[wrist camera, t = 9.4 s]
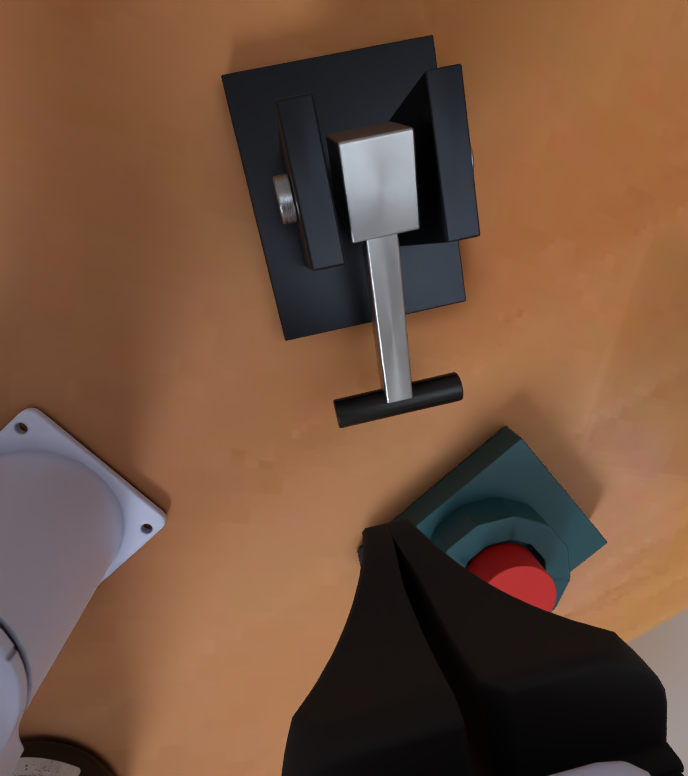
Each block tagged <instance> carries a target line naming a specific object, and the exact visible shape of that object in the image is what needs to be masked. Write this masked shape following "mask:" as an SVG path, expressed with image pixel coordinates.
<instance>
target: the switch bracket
mask: <svg viewBox="0 0 688 776" xmlns="http://www.w3.org/2000/svg"><path fill="white" fill-rule="evenodd" d="M221 78H222V82H223V86H224V90H225V95H226V99H227V103H228V107H229V111H230V115H231V119H232V123H233V128H234V132H235V136H236V140H237V144H238V148H239V152H240V156H241V160H242V165H243V169H244V173H245V177H246V181H247V185H248V189H249V193H250V197H251V202H252V206H253V210H254V214H255V218H256V222H257V226H258V230H259V235H260V239H261V243H262V247H263V251H264V255H265V259H266V263H267V267H268V272H269V276H270V280H271V284H272V288H273V292H274V296H275V300H276V305H277V309H278V313H279V317H280V321H281V325H282V329H283V333H284V337H285V340H286V341H287V340H292V339H296V338H301V337H305V336H310V335H314V334H319V333H323V332H328V331H332V330H337V329H341V328H346V327H351V326H355V325H360V324H364V323H369V322H372V317H371V310H370V303H369V295H368V288H367V281H366V273H365V266H364V259H363V251H362V244H361V242H357V243H352V242H351V240H350V239H349V237H348V235H347V234H346V232H345V231H344V229H343V227H342V226H341V224H340V223H339V217H338V211H337V204H336V198H335V192H334V186H333V179H332V173H331V167H330V161H329V154H328V148H327V142H326V135H328V134H331V133H336V132H341V131H346V130H351V129H356V128H361V127H366V126H371V125H376V124H381V123H386V122H395V123H398V124H402V125H405V126H409V127H412V128H414V130H415V145H416V161H417V177H418V193H419V209H420V225H421V226H420V229H418V230H413V231H408V232H404V233H399V234H398V237H399V248H400V259H401V270H402V281H403V292H404V304H405V314H409V313H414V312H418V311H423V310H427V309H432V308H436V307H441V306H446V305H450V304H455V303H459V302H464V301H466V297H465V289H464V281H463V273H462V265H461V257H460V249H459V240H463V239H468V238H473V237H477V236H480V228H479V219H478V210H477V201H476V192H475V183H474V174H473V173H474V158H473V152H472V148H471V145H470V138H469V129H468V120H467V111H466V102H465V93H464V84H463V75H462V66H461V64H456V65H451V66H446V67H441V68H437V64H436V55H435V47H434V39H433V35H430V36H425V37H419V38H414V39H409V40H404V41H398V42H393V43H388V44H383V45H377V46H372V47H367V48H362V49H356V50H351V51H346V52H341V53H335V54H330V55H325V56H320V57H314V58H309V59H304V60H299V61H293V62H288V63H283V64H278V65H272V66H267V67H262V68H257V69H251V70H246V71H241V72H236V73H230V74H225V75H222V76H221Z"/></svg>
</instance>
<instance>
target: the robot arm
mask: <svg viewBox="0 0 688 776" xmlns="http://www.w3.org/2000/svg"><path fill="white" fill-rule="evenodd" d="M20 423H23V424H25V425H26V426H27V429H28V431H24V430H22V429H21V428H20V425H19V424H20ZM166 520H167V517H166V514H165V513H164V512H163V511H162V510H161V509H160V508H159V507H157V506H156V505H155V504H154V503H152V502H151V501H150V500H149V499H148V498H146V497H145V496H144V495H143V494H141V493H140V492H139V491H138V490H137V489H135V488H134V487H133V486H132V485H131V484H129V483H128V482H127V481H126V480H124V479H123V478H122V477H121V476H120V475H118V474H117V473H116V472H115V471H113V470H112V469H111V468H110V467H109V466H107V465H106V464H105V463H104V462H102V461H101V460H100V459H99V458H98V457H96V456H95V455H94V454H93V453H92V452H90V451H89V450H88V449H87V448H85V447H84V446H83V445H82V444H81V443H79V442H78V441H77V440H76V439H74V438H73V437H72V436H71V435H70V434H68V433H67V432H66V431H65V430H63V429H62V428H61V427H60V426H59V425H57V424H56V423H55V422H54V421H53V420H51V419H50V418H49V417H48V416H46V415H45V414H44V413H43V412H42V411H40V410H38V409H37V408H27V409H25V410H23V411H22V412H20V413H19V414H18V415H17V416H16V417H15V418H14V419H13V420H12V421H11V422H10V423H9V424H7V425H6V426H5V427H4V428H3V429H2V430H1V431H0V776H10V775H11V773H12V771H13V769H14V767H15V765H16V764H17V762H18V760H19V758H20V756H21V754H22V752H23V751H24V748H23V746H22V743H21V741H20V739H19V724H20V721H21V718H22V716H23V715H24V713H25V711H26V709H27V708H28V706H29V704H30V703H31V701H32V699H33V697H34V696H35V694H36V692H37V691H38V689H39V687H40V685H41V684H42V682H43V680H44V678H45V677H46V675H47V673H48V672H49V670H50V668H51V666H52V665H53V663H54V661H55V659H56V658H57V656H58V654H59V653H60V651H61V649H62V647H63V646H64V644H65V642H66V641H67V639H68V637H69V635H70V634H71V632H72V630H73V628H74V627H75V625H76V623H77V622H78V620H79V618H80V616H81V615H82V613H83V611H84V609H85V608H86V606H87V604H88V603H89V601H90V599H91V597H92V596H93V594H94V592H95V590H96V589H97V587H98V585H99V584H100V583H101V582H103V581H104V580H105V579H106V578H107V577H108V576H109V575H110V574H112V573H113V572H114V571H115V570H116V569H117V568H118V567H119V566H120V565H122V564H123V563H124V562H125V561H126V560H127V559H128V558H129V557H131V556H132V555H133V554H134V553H135V552H136V551H137V550H138V549H140V548H141V547H142V546H143V545H144V544H145V543H146V542H147V541H148V540H150V539H151V538H152V537H153V536H154V535H155V534H156V533H157V532H159V531H160V530H161V529H162V528H163V527H164V525H165V523H166ZM144 524H149V525H151V526H152V529H147V528H145V527H144V526H143V525H144ZM362 535H363V557H362V564H361V570H360V576H359V581H358V585H357V589H356V593H355V597H354V601H353V604H352V607H351V610H350V613H349V616H348V619H347V622H346V624H345V627H344V629H343V632H342V634H341V636H340V639H339V641H338V643H337V646H336V648H335V650H334V652H333V654H332V656H331V658H330V659H329V661H328V663H327V665H326V667H325V668H324V670H323V672H322V674H321V675H320V677H319V679H318V681H317V682H316V684H315V686H314V687H313V689H312V690H311V692H310V693H309V694H308V696H307V697H306V699H305V700H304V702H303V703H302V704H301V706H300V707H299V709H298V710H297V712H296V713H295V714H294V716H293V717H292V721H291V725H290V729H289V734H288V738H287V743H286V748H285V753H284V760H283V768H282V776H684V775H683V774H682V773H681V772H683V771H684V766H683V764H682V762H681V760H680V759H679V757H678V756H677V755H676V753H675V752H674V751H673V750H672V748H671V747H670V746H669V744H668V743H667V742H666V736H667V699H666V693H665V688H664V687H663V685H662V683H661V681H660V680H659V678H658V676H657V675H656V674H655V673H654V672H653V671H652V670H651V669H650V667H649V666H648V665H647V664H646V663H645V662H644V661H643V659H641V658H640V656H638V655H637V653H636V652H635V651H634V650H633V649H631V647H629V646H628V645H627V644H626V643H625V642H624V641H623V640H622V639H621V638H620V637H619V636H618V635H617V634H616V633H615V632H612V631H609V630H605V629H601V628H598V627H594V626H591V625H587V624H584V623H580V622H577V621H573V620H570V619H567V618H564V617H562V616H559V615H556V614H553V613H551V612H548V611H545V610H543V609H540V608H538V607H535V606H533V605H531V604H528V603H526V602H524V601H522V600H520V599H518V598H516V597H513V596H511V595H509V594H507V593H505V592H503V591H501V590H499V589H498V588H496V587H494V586H492V585H491V584H489V583H487V582H486V581H484V580H482V579H481V578H479V577H478V576H476V575H475V574H473V573H472V572H470V571H469V570H467V569H466V568H465V567H463V566H462V565H460V564H459V563H458V562H456V561H455V560H454V559H452V558H451V557H450V556H449V555H447V554H446V553H445V552H444V551H443V550H441V549H440V548H439V547H438V546H436V545H435V544H434V543H433V542H432V541H431V540H430V539H429V538H427V537H426V536H425V535H424V534H423V533H422V532H421V531H420V530H419V529H418V528H417V527H416V526H415V525H414V524H413V523H412V522H411V521H410V520H408V519H403V520H399V521H395V522H390V523H386V524H382V525H378V526H373V527H369V528H365V530H364V531H363V532H362Z"/></svg>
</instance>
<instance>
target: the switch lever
mask: <svg viewBox="0 0 688 776" xmlns="http://www.w3.org/2000/svg"><path fill="white" fill-rule="evenodd" d="M326 142H327V148H328V154H329V161H330V167H331V173H332V179H333V186H334V192H335V198H336V204H337V211H338V217H339V223H340V224H341V226H342V227H343V229H344V231H345V232H346V234H347V235H348V237H349V239H350V240H351V242H352V243H357V242H361V244H362V251H363V259H364V266H365V273H366V281H367V288H368V295H369V303H370V310H371V317H372V325H373V332H374V339H375V347H376V354H377V361H378V369H379V376H380V383H381V389H378V390H374V391H370V392H365V393H361V394H357V395H352V396H348V397H344V398H339V399H335V400H333V403H334V408H335V412H336V417H337V421H338V425H339V428H344V427H348V426H352V425H357V424H361V423H365V422H370V421H374V420H378V419H383V418H387V417H391V416H396V415H400V414H404V413H408V412H413V411H417V410H421V409H426V408H430V407H434V406H439V405H443V404H447V403H452V402H456V401H460V400H462V399H463V387H462V383H461V380H460V378H459V376H458V374H457V373H455V372H453V373H448V374H444V375H440V376H435V377H431V378H427V379H422V380H418V381H413V382H412V381H411V370H410V359H409V348H408V337H407V326H406V315H405V304H404V292H403V281H402V270H401V259H400V248H399V237H398V234H399V233H404V232H408V231H413V230H418V229H420V226H421V225H420V209H419V193H418V177H417V161H416V145H415V130H414V128H412V127H409V126H405V125H402V124H398V123H395V122H386V123H381V124H376V125H371V126H366V127H361V128H356V129H351V130H346V131H341V132H336V133H331V134H328V135H326Z"/></svg>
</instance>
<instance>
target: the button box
mask: <svg viewBox="0 0 688 776" xmlns="http://www.w3.org/2000/svg"><path fill="white" fill-rule="evenodd" d="M403 519H408V520H410V521H411V522H412V523H413V524H414V525H415V526H416V527H417V528H418V529H419V530H420V531H421V532H422V533H423V534H424V535H425V536H426V537H427V538H429V539H430V540H431V541H432V542H433V543H434V544H435V545H436V546H438V547H439V548H440V549H441V550H443V551H444V552H445V553H446V554H447V555H449V556H450V557H451V558H452V559H454V560H455V561H456V562H458V563H459V564H460V565H462V566H463V567H465V568H467V566H468V564H469V563H470V561H471V560H472V559H473V558H474V556H475V555H477V554H478V553H479V552H480V551H482V550H483V549H485V548H487V547H489V546H491V545H494V544H498V543H515V544H518V545H521V546H523V547H525V548H526V549H528V550H529V551H530V552H531V553H532V554H533V556H534V557H535V558H536V559H537V561H538V562H539V563H540V564H541V565H542V567H543V568H544V569H545V570H546V572H547V573H548V574H549V575H550V577H551V578H552V579H553V581H554V584H555V587H556V601H555V604H554V607H553V609H552V611H553V610H554V609H555V608H556V606H557V604H558V602H559V600H560V598H561V596H562V594H563V592H564V590H565V588H566V586H567V585H568V583H569V581H570V572H571V571H572V570H573V569H574V568H576V567H577V566H578V565H580V564H581V563H582V562H583V561H585V560H586V559H587V558H589V557H590V556H591V555H592V554H594V553H595V552H596V551H597V550H599V549H600V548H601V547H603V546H604V545H605V544H606V543H607V541H606V540H605V539H604V537H603V536H602V535H601V534H600V532H599V531H598V530H597V529H596V528H595V526H594V525H593V524H592V523H591V522H590V520H589V519H588V518H587V517H586V516H585V514H584V513H583V512H582V511H581V509H580V508H579V507H578V506H577V505H576V503H575V502H574V501H573V500H572V499H571V497H570V496H569V495H568V494H567V493H566V491H565V490H564V489H563V488H562V486H561V485H560V484H559V483H558V482H557V480H556V479H555V478H554V477H553V476H552V474H551V473H550V472H549V471H548V470H547V468H546V467H545V466H544V465H543V463H542V462H541V461H540V460H539V459H538V457H537V456H536V455H535V454H534V453H533V451H532V450H531V449H530V448H529V447H528V445H527V444H526V443H525V442H524V440H523V439H522V438H521V437H519V436H518V435H517V434H515V433H514V432H513V431H512V430H510V429H509V428H508V427H506V426H505V427H504V428H503V429H502V430H500V431H499V432H498V433H497V434H496V435H494V436H493V437H492V438H491V439H490V440H489V441H487V442H486V443H485V444H484V445H483V446H481V447H480V448H479V449H478V450H477V451H475V452H474V453H473V454H472V455H471V456H469V457H468V458H467V459H466V460H465V461H463V462H462V463H461V464H460V465H459V466H457V467H456V468H455V469H454V470H453V471H451V472H450V473H449V474H448V475H447V476H446V477H444V478H443V479H442V480H441V481H440V482H438V483H437V484H436V485H435V486H434V487H432V488H431V489H430V490H429V491H428V492H426V493H425V494H424V495H423V496H422V497H420V498H419V499H418V500H417V501H416V502H414V503H413V504H412V505H411V506H410V507H409V508H407V509H406V510H405V511H404V512H403V513H401V514H400V515H399V516H398V517H397V518H395V519H394V520H393V521H392V522H395V521H399V520H403ZM357 552H358V557H359V561H360V566H361V564H362V557H363V546H362V547H361V548H360V549H358V550H357ZM552 611H551V612H552Z"/></svg>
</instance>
